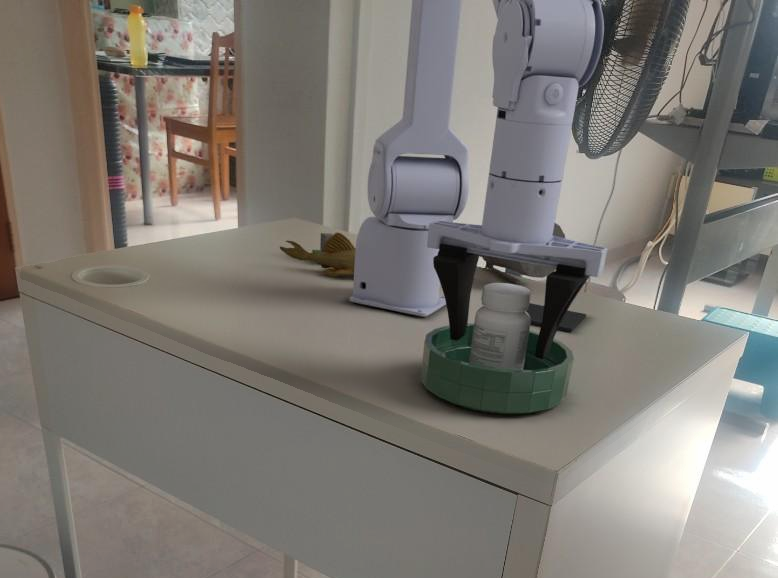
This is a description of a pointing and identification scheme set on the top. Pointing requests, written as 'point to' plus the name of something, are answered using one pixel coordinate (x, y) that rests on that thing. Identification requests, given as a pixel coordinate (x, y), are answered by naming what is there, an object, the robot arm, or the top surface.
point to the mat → (567, 323)
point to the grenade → (522, 263)
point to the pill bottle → (501, 327)
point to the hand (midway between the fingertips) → (499, 346)
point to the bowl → (494, 375)
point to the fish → (328, 255)
